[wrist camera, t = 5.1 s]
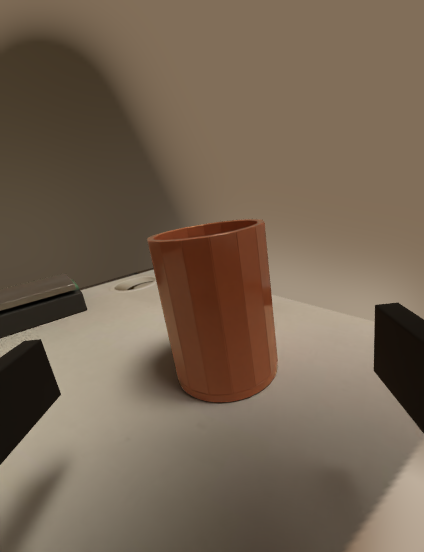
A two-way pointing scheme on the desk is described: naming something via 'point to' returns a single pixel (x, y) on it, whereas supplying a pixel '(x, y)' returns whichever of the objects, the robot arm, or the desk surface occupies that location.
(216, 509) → the desk surface
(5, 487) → the desk surface
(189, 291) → the cup
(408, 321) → the robot arm
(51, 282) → the pan
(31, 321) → the scale base
